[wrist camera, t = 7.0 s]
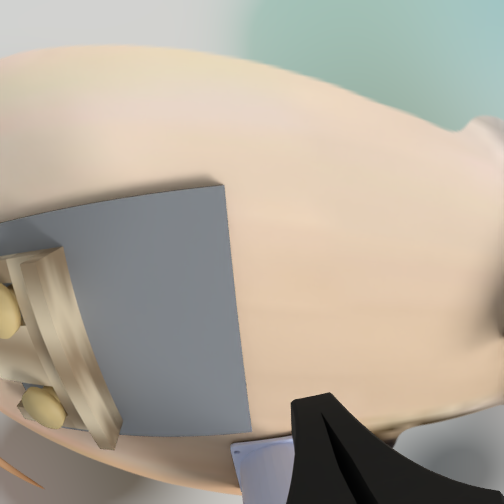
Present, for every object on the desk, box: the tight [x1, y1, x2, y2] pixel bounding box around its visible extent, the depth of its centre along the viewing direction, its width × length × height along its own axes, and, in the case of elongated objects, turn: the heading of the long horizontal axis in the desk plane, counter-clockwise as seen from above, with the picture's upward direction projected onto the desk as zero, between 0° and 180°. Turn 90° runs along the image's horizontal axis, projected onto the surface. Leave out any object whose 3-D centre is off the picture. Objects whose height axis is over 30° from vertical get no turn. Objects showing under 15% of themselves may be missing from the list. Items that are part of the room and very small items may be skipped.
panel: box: [0, 246, 123, 450], centre depth 15 cm, size 14×10×3 cm
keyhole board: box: [0, 185, 252, 437], centre depth 16 cm, size 18×19×4 cm
